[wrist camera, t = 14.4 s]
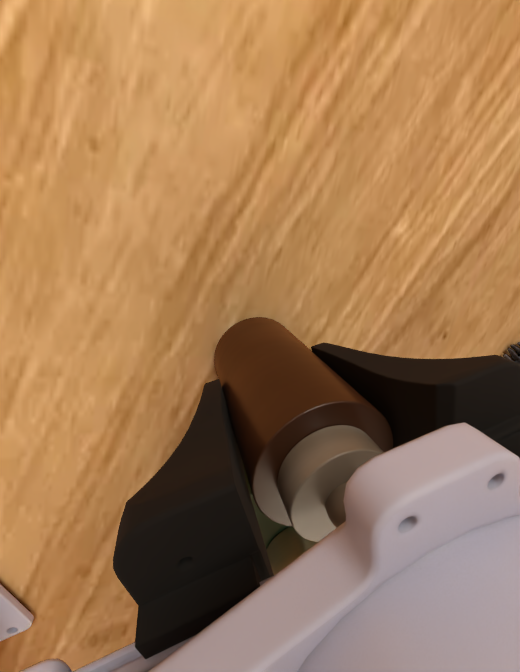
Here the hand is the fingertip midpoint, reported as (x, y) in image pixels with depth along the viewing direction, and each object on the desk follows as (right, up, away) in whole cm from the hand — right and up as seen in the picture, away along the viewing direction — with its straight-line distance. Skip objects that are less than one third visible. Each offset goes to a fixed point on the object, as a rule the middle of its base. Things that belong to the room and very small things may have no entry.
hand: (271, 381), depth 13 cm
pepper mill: (-1, +1, +2) cm, 3 cm away
